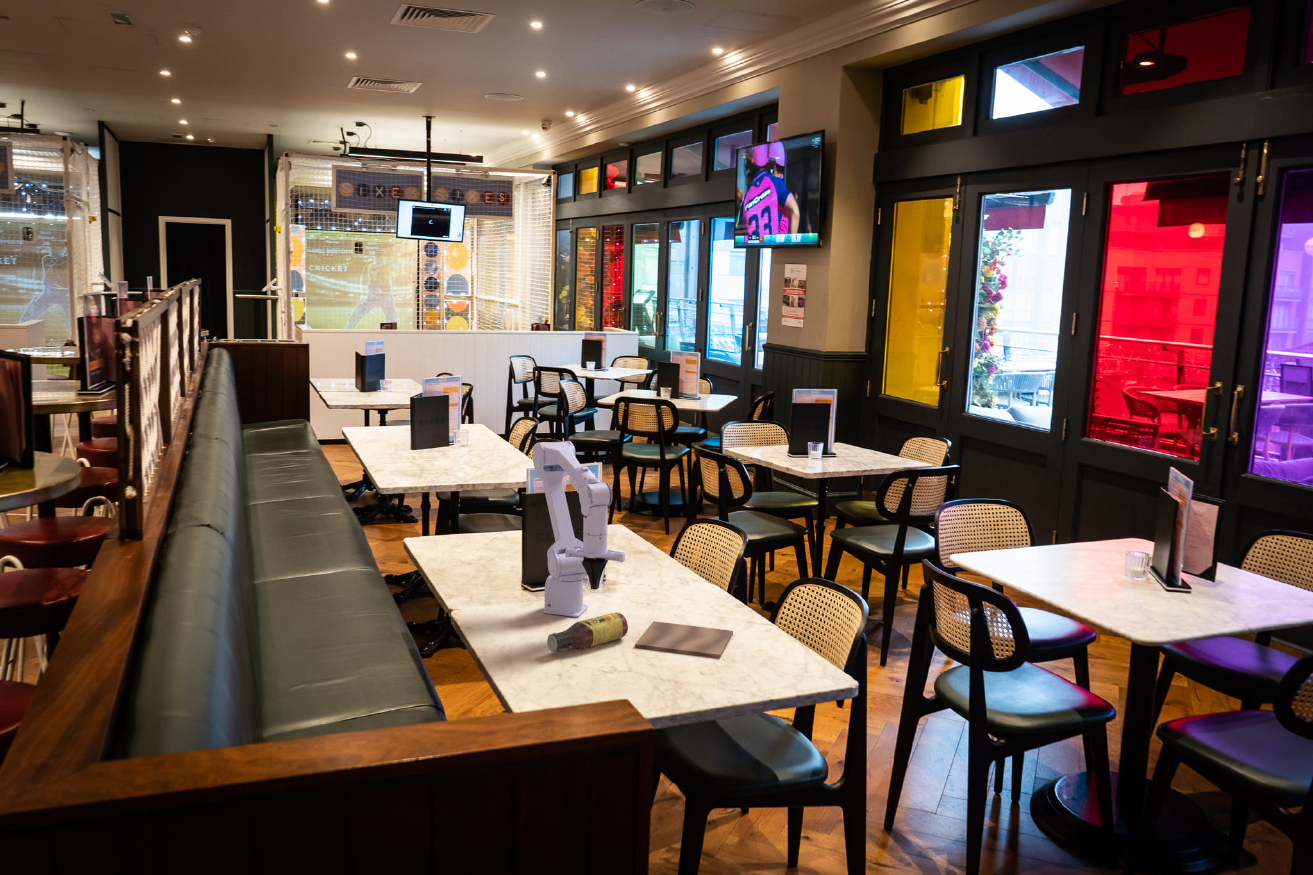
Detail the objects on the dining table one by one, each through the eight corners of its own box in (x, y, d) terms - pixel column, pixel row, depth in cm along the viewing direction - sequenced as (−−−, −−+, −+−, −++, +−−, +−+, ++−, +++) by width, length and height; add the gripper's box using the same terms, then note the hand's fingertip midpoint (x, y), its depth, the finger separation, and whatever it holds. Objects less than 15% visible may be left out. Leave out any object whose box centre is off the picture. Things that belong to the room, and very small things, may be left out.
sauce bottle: (626, 609, 220) (558, 627, 207) (631, 636, 219) (564, 655, 206) (609, 612, 225) (542, 630, 212) (614, 638, 224) (547, 657, 211)
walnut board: (635, 647, 216) (635, 643, 216) (653, 624, 231) (653, 621, 231) (720, 658, 211) (720, 654, 211) (733, 633, 226) (733, 630, 226)
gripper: (560, 534, 221) (560, 590, 223) (619, 539, 218) (618, 595, 219) (571, 527, 228) (571, 581, 230) (628, 532, 224) (627, 587, 226)
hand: (594, 588), depth 225 cm, fingers closed
